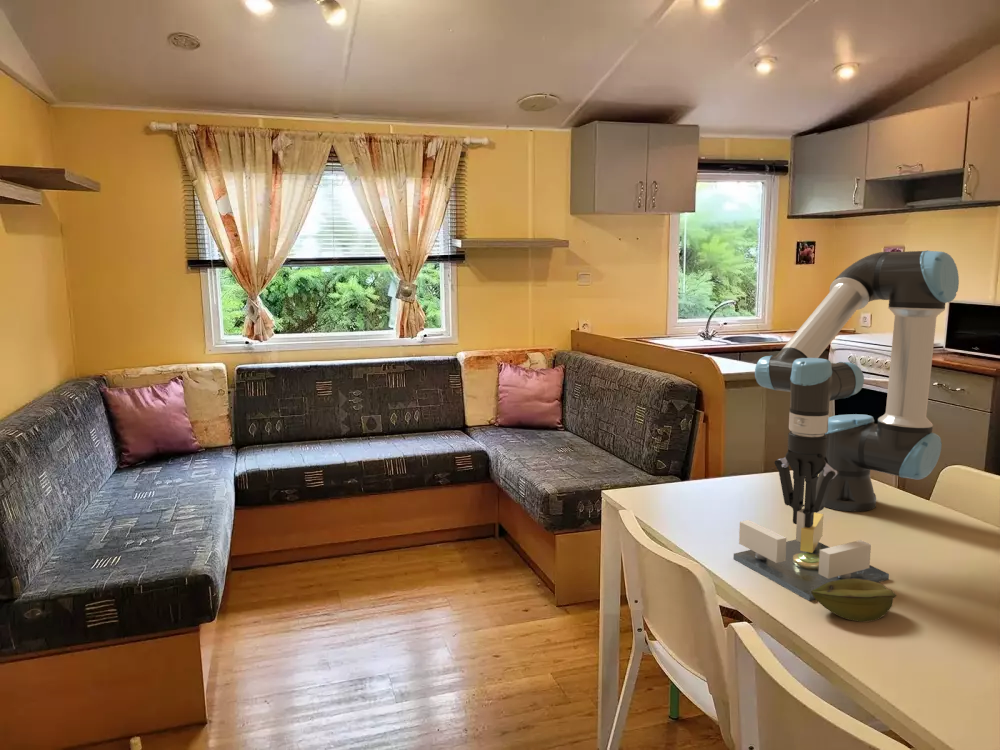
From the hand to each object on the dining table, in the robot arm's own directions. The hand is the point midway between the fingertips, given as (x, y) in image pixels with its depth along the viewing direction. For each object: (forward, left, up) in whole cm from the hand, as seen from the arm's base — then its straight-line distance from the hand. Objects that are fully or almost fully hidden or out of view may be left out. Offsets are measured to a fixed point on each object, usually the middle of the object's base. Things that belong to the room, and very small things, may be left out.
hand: (801, 539), depth 151 cm
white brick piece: (+1, +12, -3) cm, 12 cm away
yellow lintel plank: (-4, -1, -3) cm, 5 cm away
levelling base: (+2, +4, -5) cm, 6 cm away
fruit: (+9, +21, -5) cm, 23 cm away
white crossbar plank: (+9, -2, -3) cm, 10 cm away
